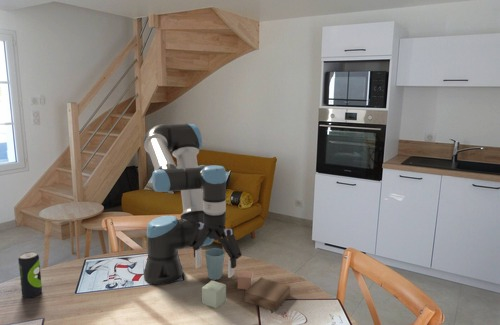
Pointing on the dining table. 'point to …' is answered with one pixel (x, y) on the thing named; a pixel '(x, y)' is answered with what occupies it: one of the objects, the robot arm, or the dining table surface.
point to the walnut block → (267, 294)
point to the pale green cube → (213, 294)
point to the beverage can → (30, 274)
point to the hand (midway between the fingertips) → (214, 271)
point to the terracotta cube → (245, 279)
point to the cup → (215, 262)
